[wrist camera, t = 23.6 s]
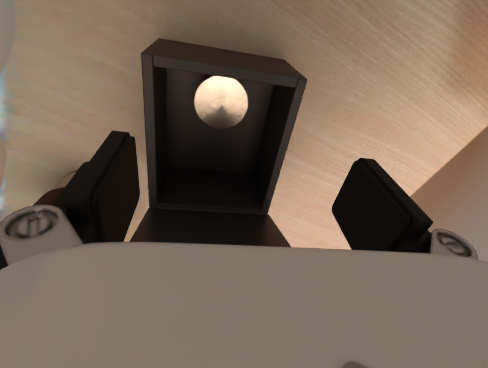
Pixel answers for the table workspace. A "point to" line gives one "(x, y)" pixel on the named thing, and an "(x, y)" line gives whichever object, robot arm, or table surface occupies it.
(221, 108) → the coffee pod
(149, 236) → the lid
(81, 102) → the table surface
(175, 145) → the open dark brown box
